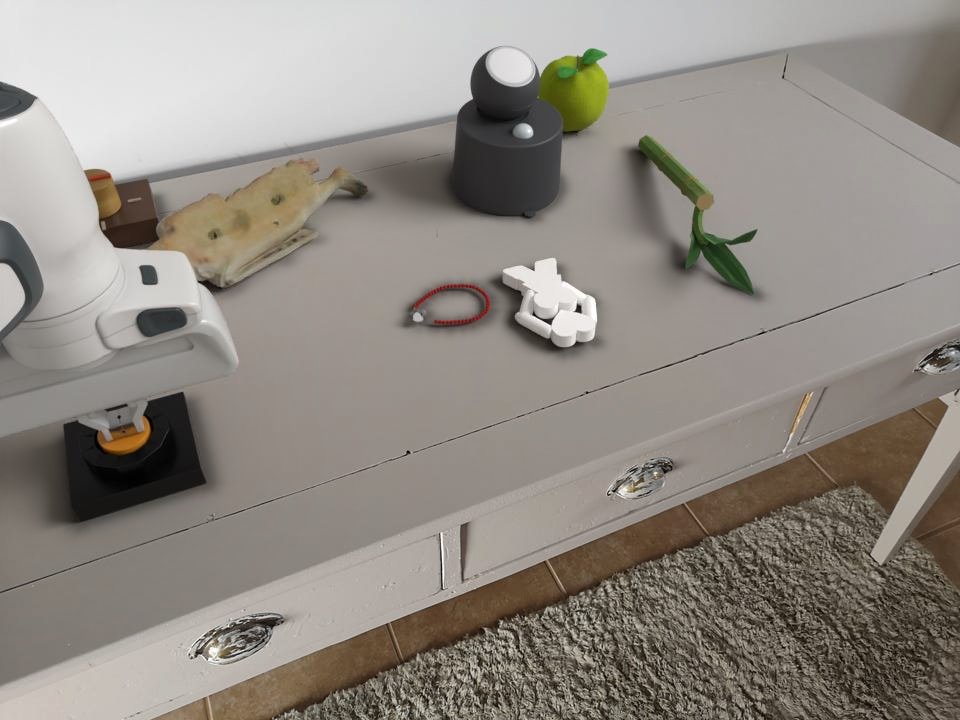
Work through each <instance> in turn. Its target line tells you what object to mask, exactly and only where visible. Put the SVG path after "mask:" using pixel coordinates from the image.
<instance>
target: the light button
mask: <svg viewBox="0 0 960 720" xmlns="http://www.w3.org/2000/svg"><path fill="white" fill-rule="evenodd" d="M142 418H143V422H144V428H145V431H144V432H140V433H137V434H133V435H129V436H125V437H122V438H119V439H115V440H112V441H109V442H107V441H106V439H105V437H104V435H103V433H102V431H98V436H97V438H98V442H99V444H100V446H101V448H102V449H103V451H104V453H105V454H108V455H117V456H121V455H124V454H128V453H131V452H134V451H136V450H138V449H139V448H140V447H142V446H143V445H144V444H146V443H147V442H148V441H149V439H150V437H151V435H152V433H153V431H152V429H151V427H150V425H149V422H148V420H147V419H146V418H145V417H144V416H142Z"/></svg>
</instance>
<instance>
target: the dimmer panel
mask: <svg viewBox="0 0 960 720" xmlns="http://www.w3.org/2000/svg"><path fill="white" fill-rule="evenodd" d="M115 187H116V190H117V192H118V195H119V198H120V201H121V207H120V209H119V210H118V211H117V212H116V213H114V214H113V215H111V216H108V217H105V218H101V219H99V226H100V229H101V231H102V233H103V234H104V235H105V237H106V238H107V239H108V240H109V241H110V242H111V244H112V245H113V247H114V248H122V249H126V248H128V247H133V246H138V245H144V244H148V243H151V242H153V243H154V242H156V241H157V240H159V237H158V235H157V232H156V227H157V224H158V223H159V222H160V221H161V220H160V216H159V212H158V211H159V210H158V208H157V207H158V206H157V203H156V200H155V197H154V193H153V190H152V187H151V184H150V181H149V179H148V178H142V179H138V180H132V181H127V182H121V183H117V184H115Z"/></svg>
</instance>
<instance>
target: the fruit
mask: <svg viewBox="0 0 960 720" xmlns="http://www.w3.org/2000/svg"><path fill="white" fill-rule="evenodd" d="M605 57H608V53H607V52H605V51H603V50H600V49H597V48H593V47H590V48H588V49H587V50H585V52H584V53H583V54H582V56H581V55H580V56H579V55H576V56H573V55H564V56H562V57H560V58H558V59H555V60H552V61H550V62H549V63H548V64H547V65H546V66H545V67H544V69H543V70H542V72H541V74H540V92H539V95H538V98H539V99H542V100H544V101H546V102H548V103H549V104H551V105H552V106H553V107H555V108H556V109H557V110H558V111H559V113H560V114H561V116H562V119H563V132H567V133H568V132H569V133H570V132H576V131H577V132H578V131H582V130H585V129H587V128H589V127H590V126H593V124H594V123H596V122H597V121H598V119H600V117H601V116H602V114H603V112H604V109H605V107H606V105H607V101H608V97H609V91H610V86H609V85H610V84H609V79H608V76H607V74H606V71H604V69H603V68H602V67H601V66H600V65H599V63H598V61H600V60H602V59H604V58H605Z"/></svg>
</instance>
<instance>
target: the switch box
mask: <svg viewBox="0 0 960 720" xmlns="http://www.w3.org/2000/svg"><path fill="white" fill-rule="evenodd" d="M147 403H148V404H147V407H146V409H145V411H144V413H143V416H144V417H145V418H146V419H147V420H148V422H149V425H150V427H151V429H152V431H153V433H152V435H151V437H150V439H149V441H148V442H147V443H146V444H144V445H143V446H142V447H140V448H139V449H138V450H136V451H134V452H131V453H128V454H124V455H121V456H117V455H108V454H105V453H104V451H103V449H102V448H101V446H100V444H99V442H98V438H97V436H98V431H99V430H96V429H94V428H91V427H89V426H86V425H84V424H81V423H79V422H78V420H77V419H76V420H73V421H69V422H66V423H63V424H62V429H63V437H64V438H63V440H64V449H65V460H66V461H65V462H66V470H67V481H68V482H67V483H68V491H69V493H68V494H69V503H70V509H71V511H72V512H73V513H74V515H75V516H76V518H77V519H78V521H79V522H80V523H82V522H86V521H89V520H92V519H96V518H99V517H102V516H105V515H108V514H111V513H115V512H118V511H121V510H124V509H127V508H130V507H134V506H138V505H140V504H143V503H147V502H151V501H154V500H156V499H160V498H163V497H166V496H169V495H172V494H173V495H174V494H176V493H179V492H182V491H186V490H189V489H192V488H196V487H199V486H203V485H206V484H207V477H206V473H205V469H204V465H203V461H202V456H201V452H200V447H199V443H198V440H197V434H196V431H195V426H194V422H193V418H192V417H193V416H192V414H191V413H192V412H191V409H190V405H189V402H188V401H187V397H186V395H185V392H184V391H179V392H176V393H173V394H168V395H165V396H160V397H157V398H154V399H150V400H147ZM127 406H128V405H127V403H126V404H122V405H119V406H115V407H111V408H108V409H104V410H105V411H107V412H109V411H113V410H117V409H121V408H124V407H127Z"/></svg>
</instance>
